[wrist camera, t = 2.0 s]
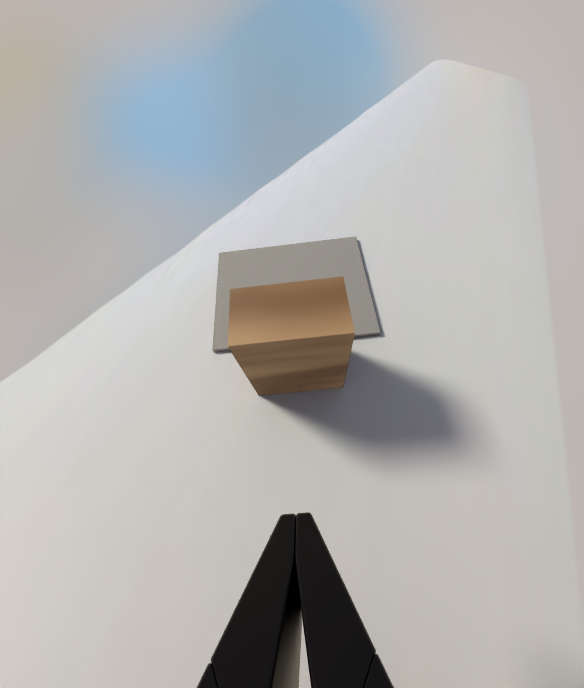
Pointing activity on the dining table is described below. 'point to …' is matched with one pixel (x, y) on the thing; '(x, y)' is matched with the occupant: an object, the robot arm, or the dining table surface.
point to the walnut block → (292, 334)
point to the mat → (295, 278)
